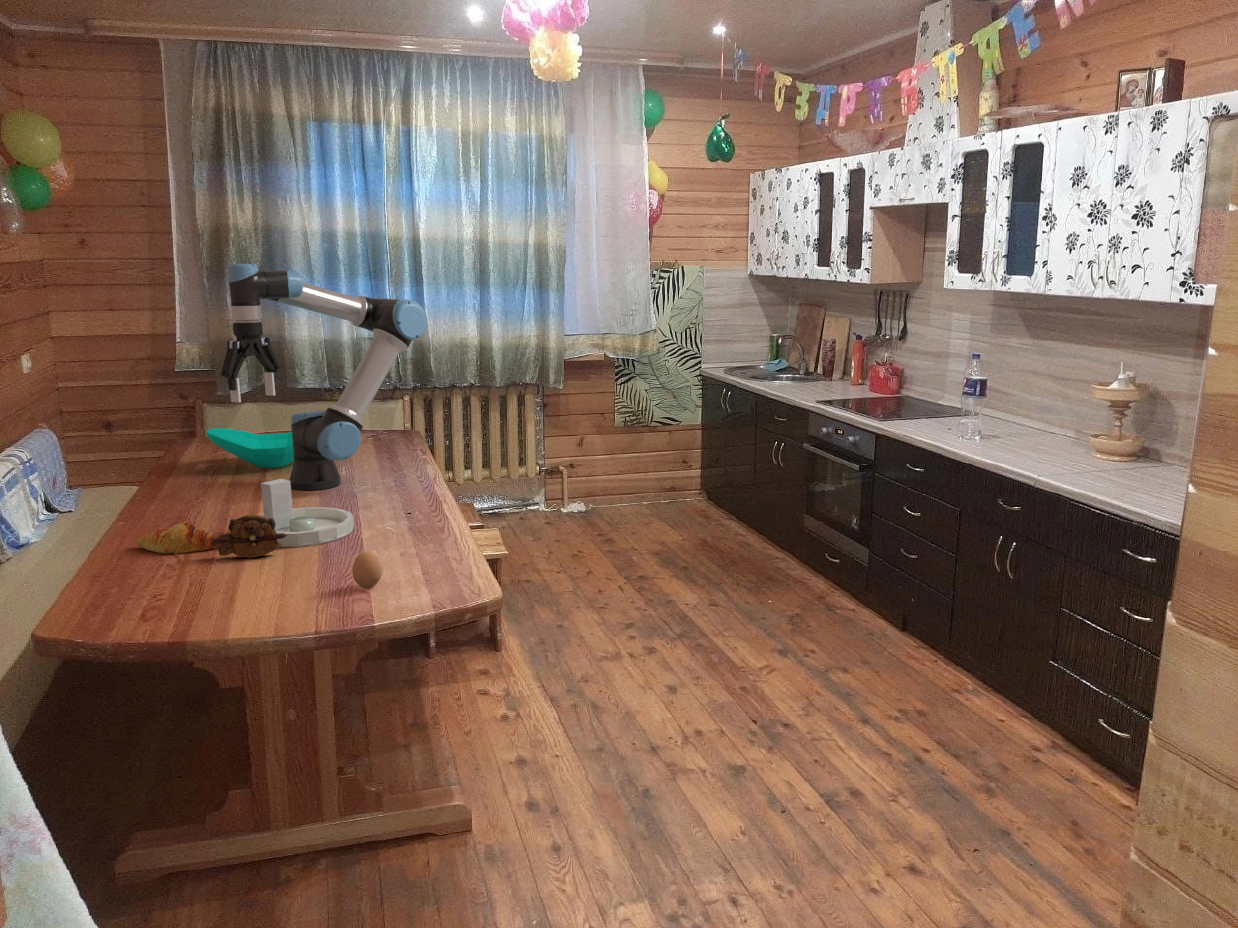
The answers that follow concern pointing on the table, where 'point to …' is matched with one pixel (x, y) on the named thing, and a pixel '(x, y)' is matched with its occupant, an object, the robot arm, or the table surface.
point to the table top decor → (255, 446)
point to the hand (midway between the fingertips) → (253, 398)
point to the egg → (366, 570)
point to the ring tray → (316, 526)
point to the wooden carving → (249, 537)
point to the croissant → (177, 539)
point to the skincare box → (277, 502)
